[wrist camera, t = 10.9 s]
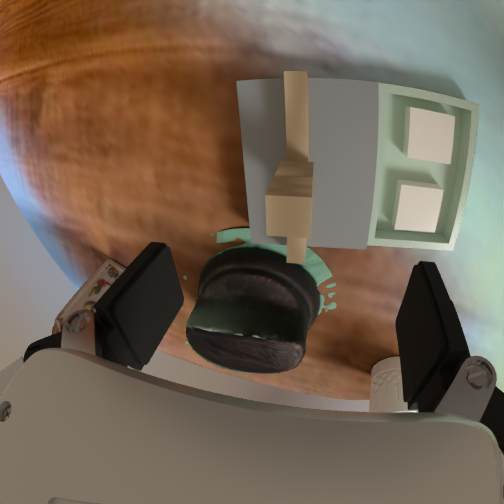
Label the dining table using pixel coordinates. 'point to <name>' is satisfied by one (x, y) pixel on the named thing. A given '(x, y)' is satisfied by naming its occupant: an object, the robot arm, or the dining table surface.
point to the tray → (421, 167)
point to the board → (315, 155)
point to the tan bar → (293, 174)
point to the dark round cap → (256, 306)
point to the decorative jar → (90, 292)
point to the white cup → (387, 387)
